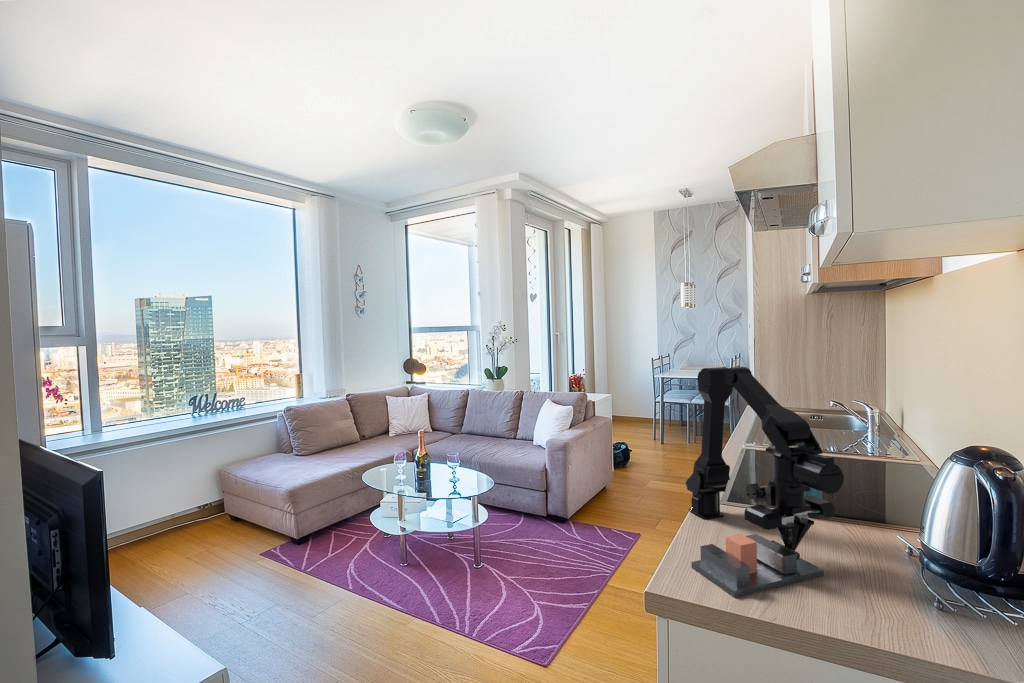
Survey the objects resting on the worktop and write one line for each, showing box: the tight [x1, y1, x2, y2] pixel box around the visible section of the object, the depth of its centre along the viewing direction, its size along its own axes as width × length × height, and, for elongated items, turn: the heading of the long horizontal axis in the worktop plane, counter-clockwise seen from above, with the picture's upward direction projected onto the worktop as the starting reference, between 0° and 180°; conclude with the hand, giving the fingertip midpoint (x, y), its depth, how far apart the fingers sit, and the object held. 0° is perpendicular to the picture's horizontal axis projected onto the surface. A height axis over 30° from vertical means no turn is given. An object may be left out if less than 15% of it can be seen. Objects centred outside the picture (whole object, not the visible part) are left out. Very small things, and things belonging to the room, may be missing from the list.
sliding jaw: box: [745, 533, 801, 574], centre depth 99 cm, size 6×10×4 cm, turn 18°
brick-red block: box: [725, 534, 757, 574], centre depth 96 cm, size 4×4×6 cm
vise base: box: [690, 543, 825, 599], centre depth 97 cm, size 22×12×5 cm, turn 108°
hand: (790, 552), depth 100 cm, fingers closed
